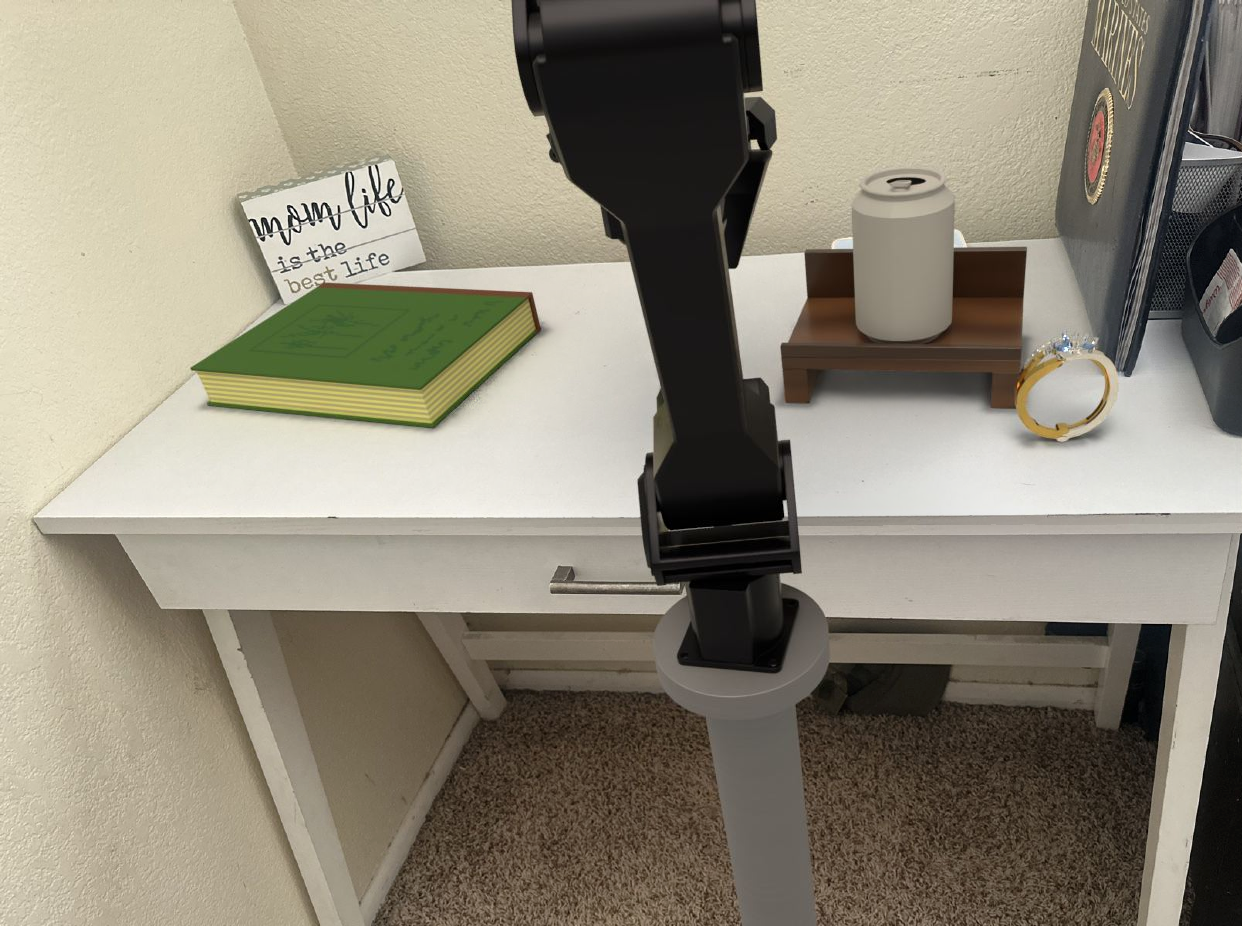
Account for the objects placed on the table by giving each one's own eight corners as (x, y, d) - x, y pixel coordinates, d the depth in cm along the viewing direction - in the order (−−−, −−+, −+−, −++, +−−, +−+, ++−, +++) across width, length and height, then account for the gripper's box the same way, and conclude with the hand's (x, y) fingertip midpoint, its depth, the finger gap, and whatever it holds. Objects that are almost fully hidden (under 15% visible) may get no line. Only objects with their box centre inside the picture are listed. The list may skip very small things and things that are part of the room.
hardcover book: (541, 329, 98) (532, 292, 96) (433, 427, 84) (420, 387, 82) (330, 316, 106) (318, 282, 104) (201, 404, 92) (183, 367, 90)
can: (960, 313, 82) (964, 160, 75) (941, 355, 77) (944, 194, 69) (869, 308, 85) (865, 160, 77) (845, 348, 79) (838, 193, 72)
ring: (1106, 424, 74) (1120, 322, 69) (1116, 448, 71) (1130, 343, 67) (1008, 429, 75) (1015, 328, 70) (1014, 452, 72) (1021, 349, 67)
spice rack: (1017, 408, 77) (1024, 309, 72) (784, 402, 81) (776, 309, 77) (1020, 338, 86) (1027, 246, 81) (811, 336, 91) (805, 249, 86)
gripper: (603, 12, 67) (641, 244, 76) (483, 85, 53) (548, 358, 62) (768, 0, 64) (786, 242, 74) (688, 73, 50) (723, 361, 59)
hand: (713, 295), depth 67 cm, fingers open, 9 cm apart
